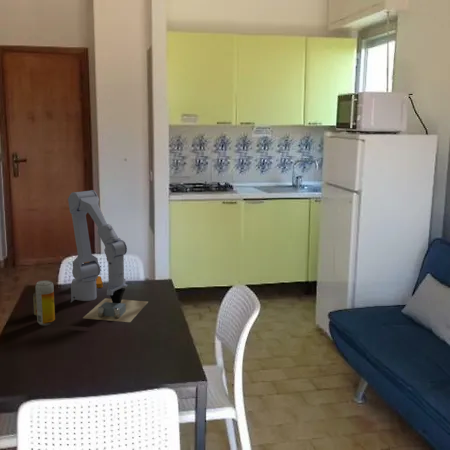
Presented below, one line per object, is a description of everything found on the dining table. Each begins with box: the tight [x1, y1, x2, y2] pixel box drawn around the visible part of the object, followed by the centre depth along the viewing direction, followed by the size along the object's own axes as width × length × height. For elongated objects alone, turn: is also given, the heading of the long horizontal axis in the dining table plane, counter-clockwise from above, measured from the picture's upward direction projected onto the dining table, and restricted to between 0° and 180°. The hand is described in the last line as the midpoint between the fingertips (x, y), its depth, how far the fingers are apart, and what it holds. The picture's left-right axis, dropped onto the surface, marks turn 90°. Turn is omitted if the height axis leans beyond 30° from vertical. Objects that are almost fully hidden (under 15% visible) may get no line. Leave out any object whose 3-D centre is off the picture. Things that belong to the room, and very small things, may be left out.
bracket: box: [85, 262, 104, 289], centre depth 244 cm, size 11×7×12 cm, turn 17°
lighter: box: [32, 291, 37, 316], centre depth 211 cm, size 7×4×10 cm, turn 96°
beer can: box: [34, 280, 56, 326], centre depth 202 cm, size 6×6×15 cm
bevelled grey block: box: [100, 302, 126, 317], centre depth 210 cm, size 8×6×3 cm
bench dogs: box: [98, 306, 120, 319], centre depth 206 cm, size 8×2×4 cm, turn 80°
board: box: [82, 297, 149, 323], centre depth 214 cm, size 18×22×1 cm
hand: (116, 307), depth 214 cm, fingers closed
